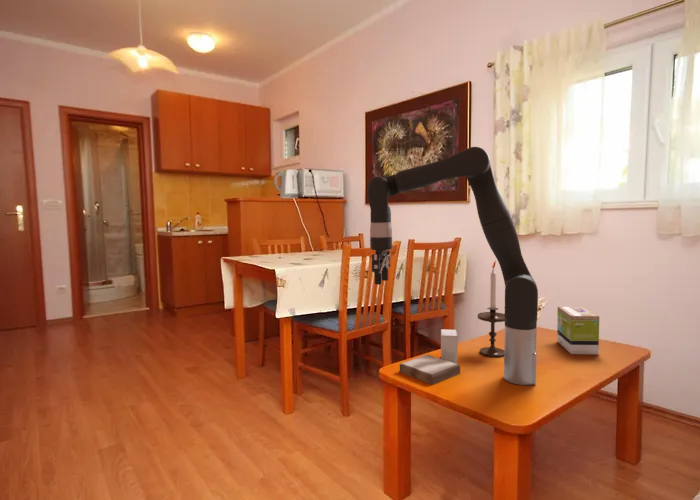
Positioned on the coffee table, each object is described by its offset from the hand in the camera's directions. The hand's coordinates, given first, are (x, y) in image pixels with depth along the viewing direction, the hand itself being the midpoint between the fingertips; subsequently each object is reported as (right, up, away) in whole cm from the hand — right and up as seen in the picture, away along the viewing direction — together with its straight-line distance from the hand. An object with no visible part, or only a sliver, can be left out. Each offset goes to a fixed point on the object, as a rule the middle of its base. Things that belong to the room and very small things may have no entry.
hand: (381, 282), depth 145 cm
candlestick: (+42, -28, +11) cm, 52 cm away
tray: (+16, -30, -6) cm, 34 cm away
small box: (+24, -29, +4) cm, 38 cm away
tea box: (+76, -27, +15) cm, 82 cm away
